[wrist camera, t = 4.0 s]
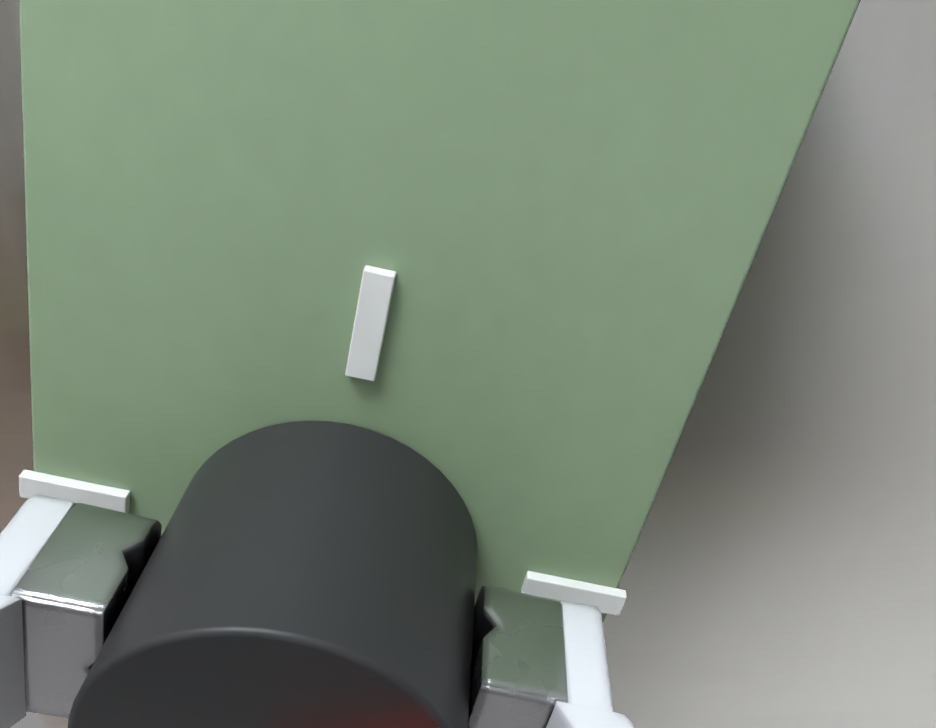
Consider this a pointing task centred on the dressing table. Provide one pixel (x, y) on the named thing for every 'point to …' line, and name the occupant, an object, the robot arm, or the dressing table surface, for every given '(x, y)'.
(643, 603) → the dressing table surface
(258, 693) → the dimmer knob
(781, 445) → the dressing table surface
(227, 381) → the dimmer panel
